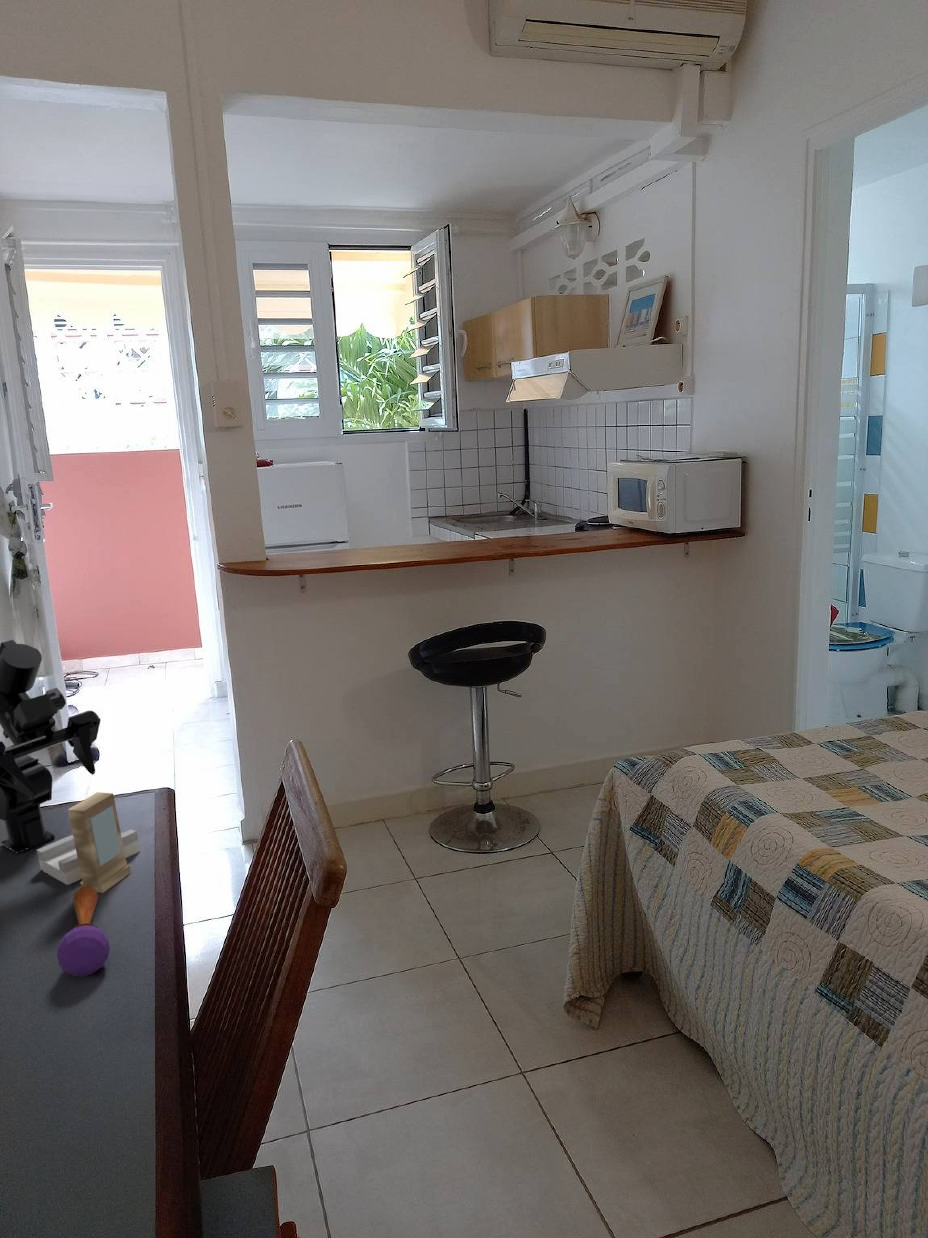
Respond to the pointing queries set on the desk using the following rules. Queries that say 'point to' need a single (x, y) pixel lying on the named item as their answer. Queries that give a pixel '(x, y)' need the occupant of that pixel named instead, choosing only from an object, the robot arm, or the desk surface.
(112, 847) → the beige block with panel
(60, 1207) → the desk surface
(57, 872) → the ledge
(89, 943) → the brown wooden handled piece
